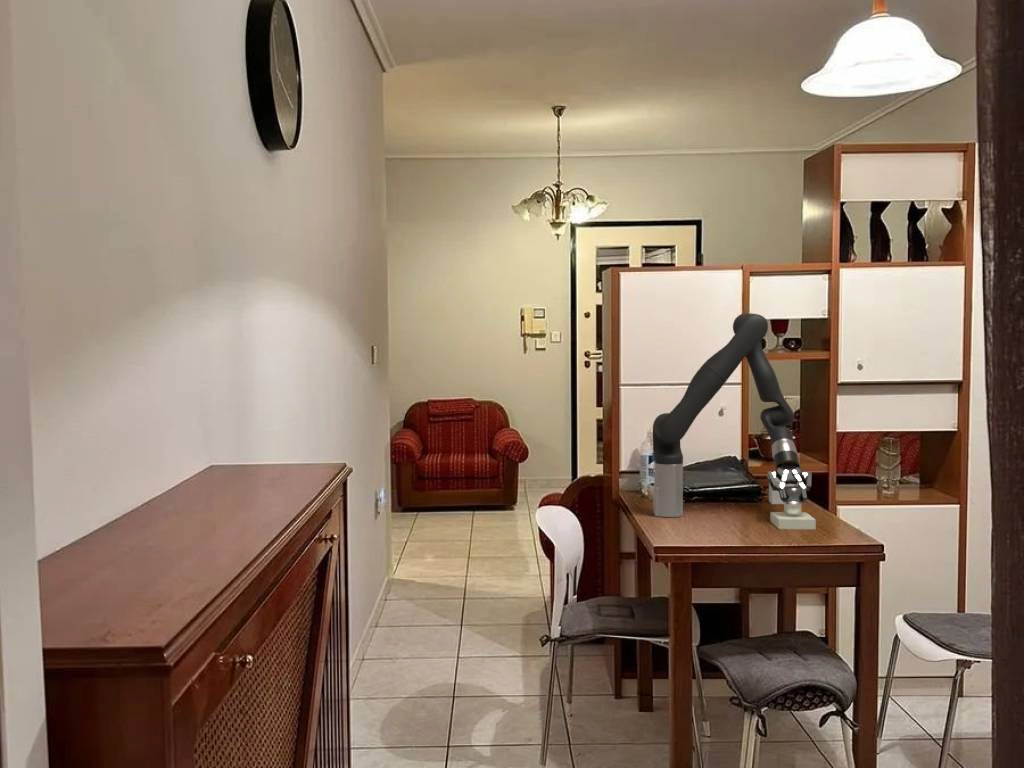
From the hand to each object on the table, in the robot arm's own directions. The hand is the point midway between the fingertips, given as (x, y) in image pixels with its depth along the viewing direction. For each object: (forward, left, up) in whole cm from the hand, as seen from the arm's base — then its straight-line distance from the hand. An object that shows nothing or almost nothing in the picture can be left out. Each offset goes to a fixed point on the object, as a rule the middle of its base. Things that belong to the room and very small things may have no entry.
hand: (794, 500), depth 279 cm
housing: (0, +2, -4) cm, 5 cm away
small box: (+6, +38, -8) cm, 40 cm away
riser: (0, +2, -8) cm, 8 cm away
